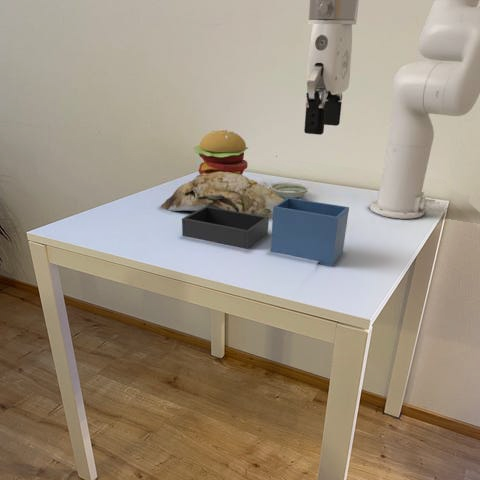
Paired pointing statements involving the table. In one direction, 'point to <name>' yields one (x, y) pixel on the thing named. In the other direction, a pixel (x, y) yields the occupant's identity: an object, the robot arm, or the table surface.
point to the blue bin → (309, 230)
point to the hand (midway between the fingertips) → (322, 129)
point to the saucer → (289, 190)
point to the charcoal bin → (225, 227)
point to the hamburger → (222, 152)
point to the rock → (224, 195)
